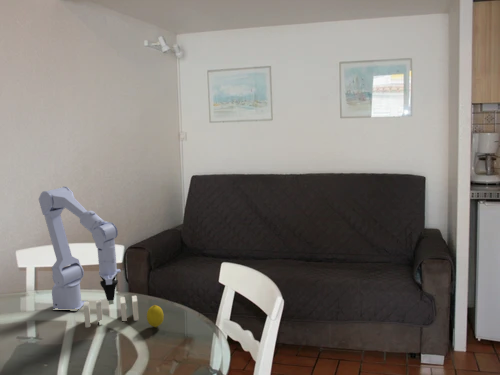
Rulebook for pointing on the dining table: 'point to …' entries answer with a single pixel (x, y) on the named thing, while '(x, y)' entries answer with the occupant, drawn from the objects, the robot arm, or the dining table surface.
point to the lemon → (155, 316)
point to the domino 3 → (111, 302)
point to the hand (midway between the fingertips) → (110, 296)
